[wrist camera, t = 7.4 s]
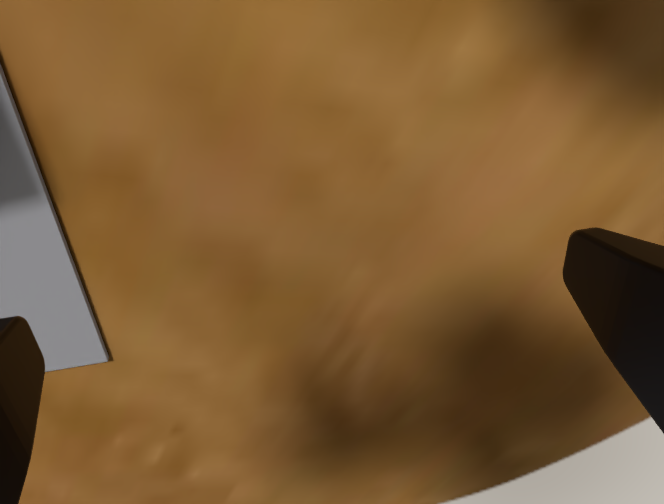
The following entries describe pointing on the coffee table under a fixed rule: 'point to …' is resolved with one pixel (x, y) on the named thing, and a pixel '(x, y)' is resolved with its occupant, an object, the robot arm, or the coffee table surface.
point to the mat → (39, 255)
